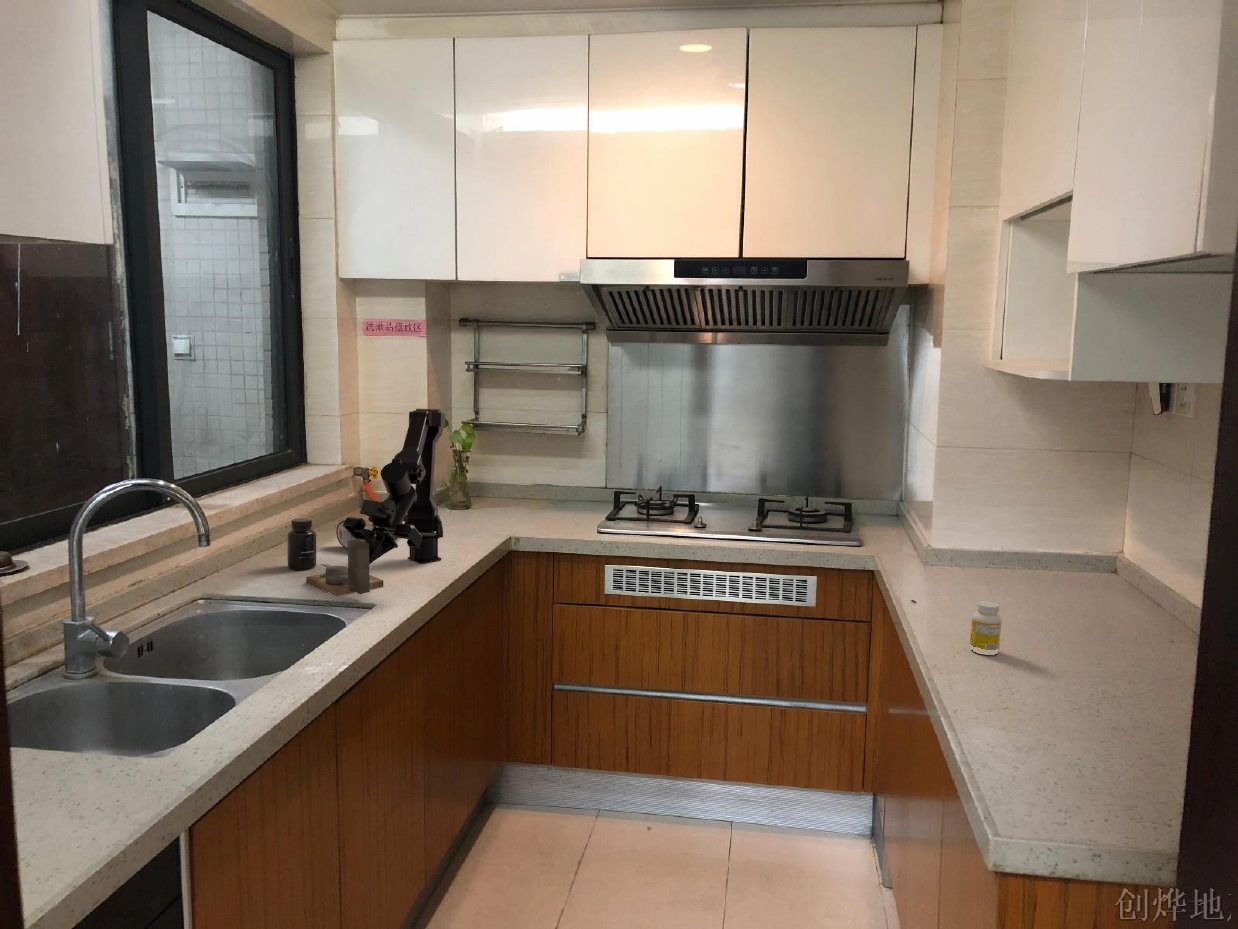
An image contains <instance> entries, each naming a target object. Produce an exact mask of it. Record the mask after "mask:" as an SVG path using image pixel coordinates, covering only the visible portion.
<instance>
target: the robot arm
mask: <svg viewBox="0 0 1238 929" xmlns="http://www.w3.org/2000/svg"><path fill="white" fill-rule="evenodd" d="M445 426H446V414H445V413H444V412H442V411H441V409H440V408H438V409H437V408H415V410H414V409H413V410H412V411H408V427H407V431H406V434H405V438H404V442H403V445H402V449H401V450H400V451H399V452H397V453H396V454H395V455H394V458H391V462H389V463H386V464H385V465H384V466H383V467H382V468H381V470H380V477H381V480H382V483H383V485H384V488H385V491H386V492H387V494H388V495H387V497H386V499H384V500H383V501H378V500H370V499H363V500H362V502H361V507H360V510H359V514H361V515H365V516H367V517H368V518H367V520H369V521H370V522H372V523H373V524H369V523H366V522H365V521H364V520H365V519H364V518H363V517H358V516H357V517H355V516H348V517H346V518H345V519H346V520H345V519H344V520H345V522H344V523H343V527H344V528H345V529H346V530H347V531H348V532H349V533H350V534H351V536H352V537H353V538H355V539H359V540H365V542H366V543H369V565H371V564H372V563H373V562H375V561H376V560H378V559H379V558H380V557H382V556H384V555H385V554H387V553H388V552H390V551H392V550H393V549H397V548H399V544H398V543H399V541H400V540H401V539H403V540H404V539H405V540H406V544H407V546H408V548H409V554H408V555H409V556H408V557H407V560H410V561H412V562H415V563H418V564H427V563H431V562H430V561H433V562H437V561H436V560H438V561H441V560H442V557H441V556H440V557H439V539H441V538H444V526H443V521H442V520H441V517H440V516H441V515H440V514H439V509H438V507H437V504H436V502H435V501H434V500H433V497H434V482H435V481H434V480H435V460H436V443H437V442H438V441H439V439H440V438H441V437H442V435H443V430H444V427H445ZM413 485H415V487H414V486H413ZM363 519H364V520H363ZM403 522H404V523H403ZM426 562H427V563H426Z"/></svg>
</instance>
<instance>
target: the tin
mask: <svg viewBox="0 0 1238 929" xmlns="http://www.w3.org/2000/svg"><path fill="white" fill-rule="evenodd" d="M362 519H363V520H364V521H365V522H366V523H369V524H373V523H372V522H370V521H369V520H368V519H364V518H362ZM345 520H346V518H345V519H342V520H341V521H340V522H339V523H338V524H337V526H336V539H337V541H338V543H339V544H340V545H341V546H342V547H343V548H344V549H347V550H348V541H350V540H357V539H355V538H353V537H352V536H351V534H350V533H349V532H348V531H347V530H346V529H345V528H344V527H343V523H344V522H345ZM358 540H359V539H358ZM361 541H364V542H365V540H361Z"/></svg>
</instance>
